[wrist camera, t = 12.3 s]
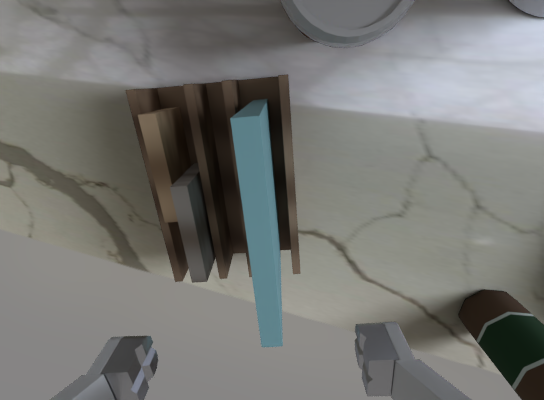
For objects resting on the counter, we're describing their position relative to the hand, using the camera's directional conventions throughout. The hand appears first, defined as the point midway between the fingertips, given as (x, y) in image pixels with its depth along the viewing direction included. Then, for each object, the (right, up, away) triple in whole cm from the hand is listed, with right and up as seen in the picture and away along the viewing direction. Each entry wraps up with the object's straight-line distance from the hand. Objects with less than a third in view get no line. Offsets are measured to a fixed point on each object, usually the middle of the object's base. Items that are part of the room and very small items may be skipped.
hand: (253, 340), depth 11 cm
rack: (-4, +9, +23) cm, 25 cm away
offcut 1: (-9, +11, +20) cm, 25 cm away
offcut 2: (-7, +5, +23) cm, 24 cm away
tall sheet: (0, +8, +21) cm, 23 cm away
